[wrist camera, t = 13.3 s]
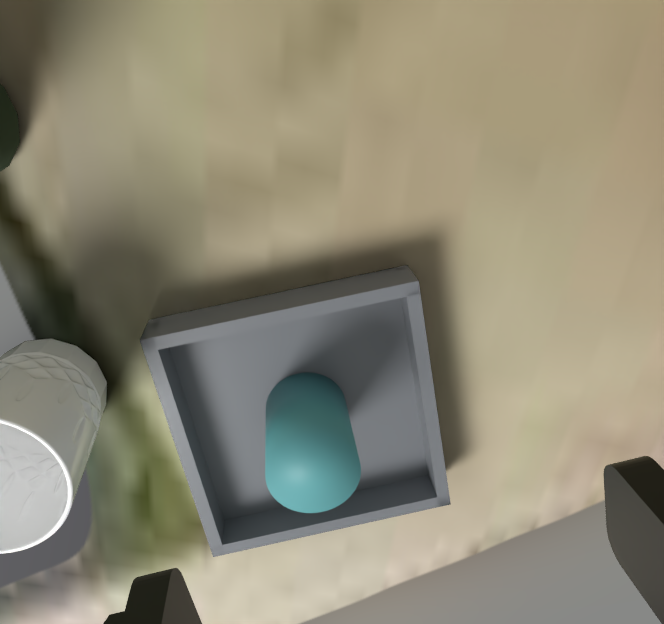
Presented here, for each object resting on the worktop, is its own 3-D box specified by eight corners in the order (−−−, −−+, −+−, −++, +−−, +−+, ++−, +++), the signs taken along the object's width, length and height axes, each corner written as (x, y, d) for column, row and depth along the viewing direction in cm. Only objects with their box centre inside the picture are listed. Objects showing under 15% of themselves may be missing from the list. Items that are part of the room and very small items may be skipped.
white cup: (132, 351, 38) (90, 442, 29) (100, 454, 41) (51, 569, 32) (-2, 311, 37) (-92, 395, 27) (-27, 422, 39) (-118, 533, 30)
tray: (407, 264, 38) (418, 280, 35) (438, 476, 44) (450, 504, 41) (148, 319, 38) (139, 340, 35) (216, 525, 44) (213, 556, 41)
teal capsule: (337, 364, 39) (351, 423, 33) (352, 433, 41) (368, 501, 35) (257, 382, 39) (255, 444, 33) (275, 450, 41) (277, 521, 35)
